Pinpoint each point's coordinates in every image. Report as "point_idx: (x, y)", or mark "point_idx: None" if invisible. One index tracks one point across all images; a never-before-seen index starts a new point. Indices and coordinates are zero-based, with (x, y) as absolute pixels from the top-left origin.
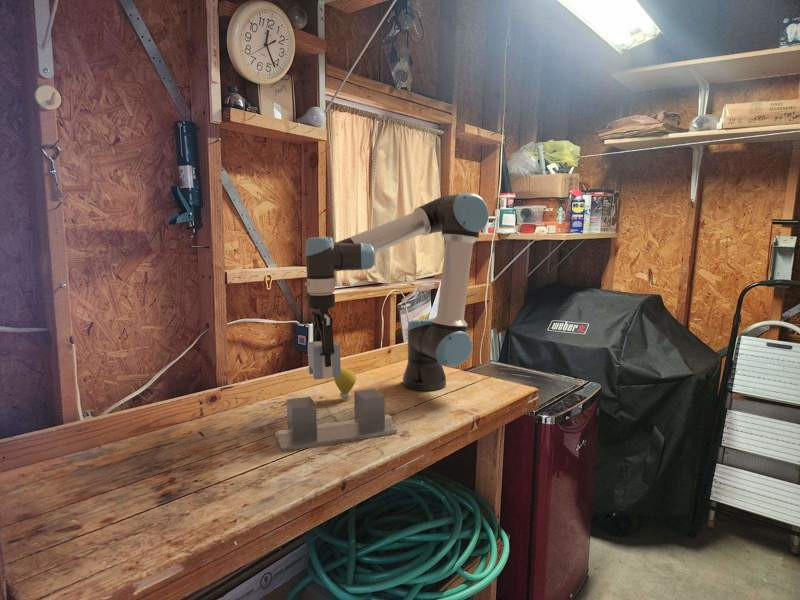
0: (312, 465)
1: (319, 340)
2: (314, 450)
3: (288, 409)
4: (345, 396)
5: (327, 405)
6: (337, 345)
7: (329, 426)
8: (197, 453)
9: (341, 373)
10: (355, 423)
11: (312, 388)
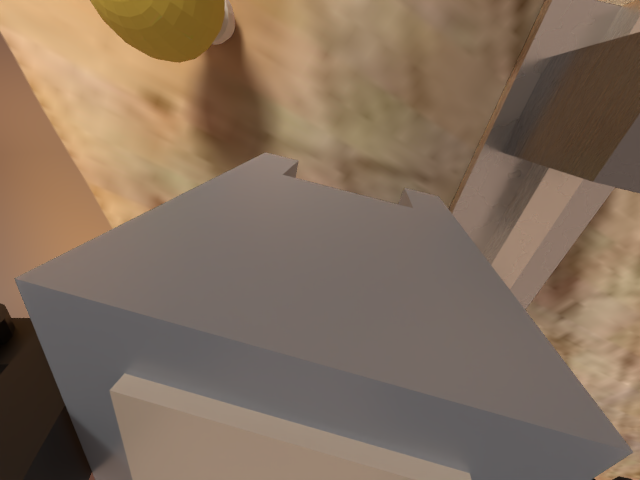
0: (595, 352)
1: (73, 462)
2: (532, 315)
3: None
4: (230, 27)
5: (250, 125)
6: (586, 471)
7: (517, 273)
8: None
9: (156, 15)
10: (574, 191)
11: (47, 81)
